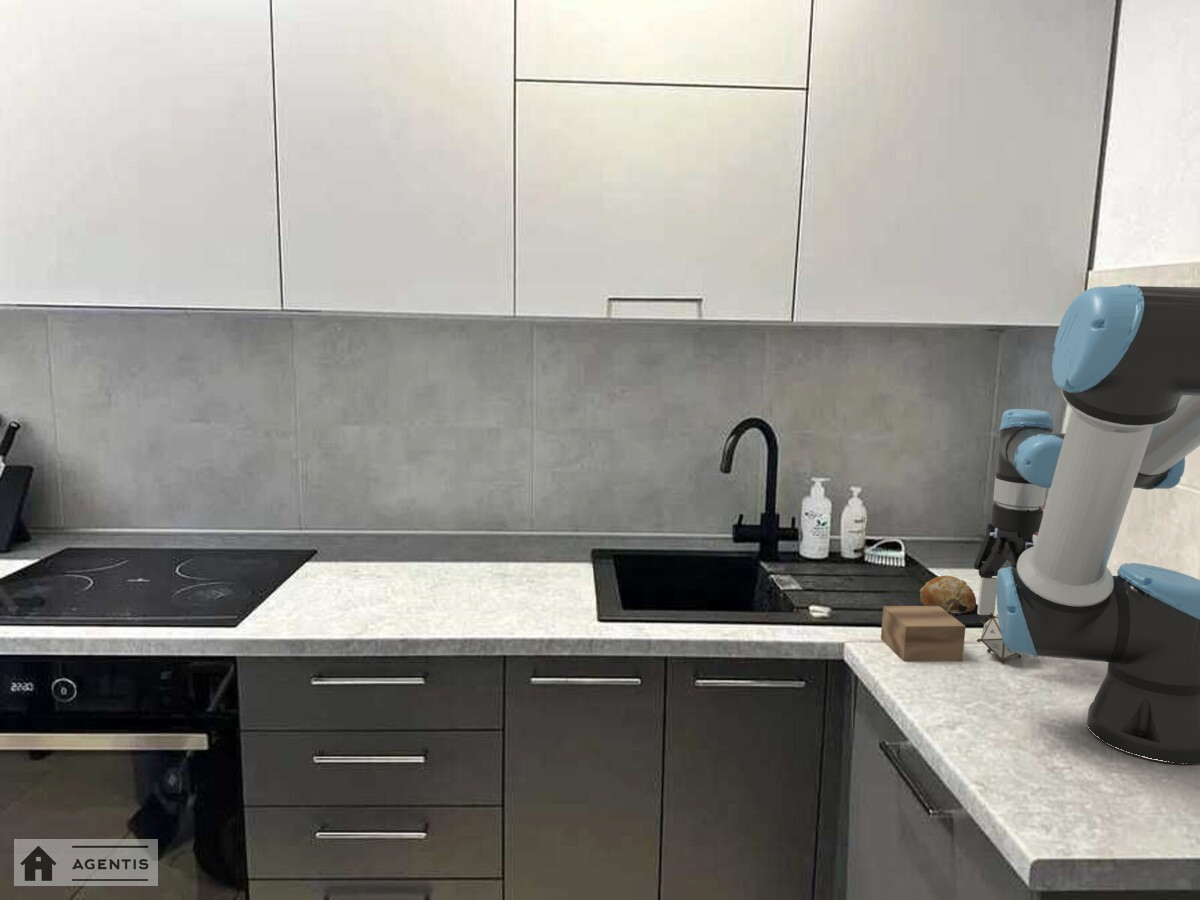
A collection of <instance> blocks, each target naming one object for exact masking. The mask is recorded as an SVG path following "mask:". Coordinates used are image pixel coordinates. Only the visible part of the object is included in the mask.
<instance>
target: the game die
mask: <svg viewBox="0 0 1200 900" xmlns="http://www.w3.org/2000/svg"><path fill="white" fill-rule="evenodd" d="M989 616H990V618H989V619H988V620H986V621H983V620H980V621H979V622H980V624H981V625H983V626H982V627H983V628H982V633H981V638H977V639H976V643H981V642H982V643H983V644H984V645H985V646H986V647H987V648H988V649H987V650H986V653H991V652H992V653H993V654H994V655H996V656H997V657H998V658H1000V659H1001V660H1000V664H1001V665H1003V664H1005V660H1008V659H1009V658H1013V657H1018V659H1022V658H1023V656H1022V654H1020V653H1015V652H1013V651H1011V650H1009V649H1008V648H1007V647H1006V646H1005V644H1004V642H1003V639H1002V636H1001V631H1000V626H999V619H998V614H995V615H993V613H990V615H989Z"/></svg>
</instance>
